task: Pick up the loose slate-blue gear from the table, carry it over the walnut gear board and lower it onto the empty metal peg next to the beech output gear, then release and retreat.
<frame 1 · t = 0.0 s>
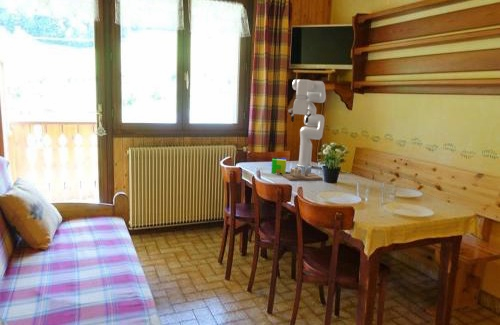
hand: (299, 122, 275), 37 cm above the table, tool pointing down, fingers open, 9 cm apart
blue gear: (306, 173, 287), on the table
gear board: (302, 177, 272), on the table
puzzle toy: (278, 172, 286), on the table
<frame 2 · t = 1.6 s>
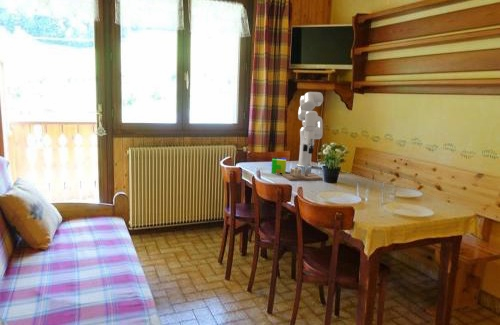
hand: (307, 152, 284), 16 cm above the table, tool pointing down, fingers open, 9 cm apart
nothing on the table moved.
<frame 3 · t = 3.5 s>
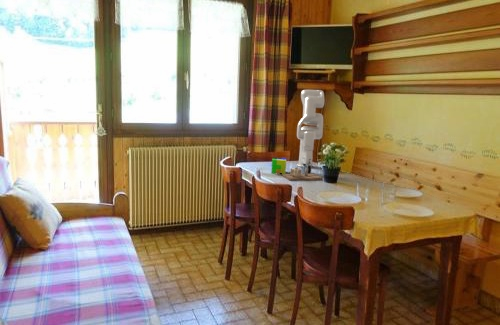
hand: (306, 172, 287), 1 cm above the table, tool pointing down, fingers closed on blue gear, 6 cm apart
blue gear: (306, 173, 287), on the table, touching gripper
everything else where it was.
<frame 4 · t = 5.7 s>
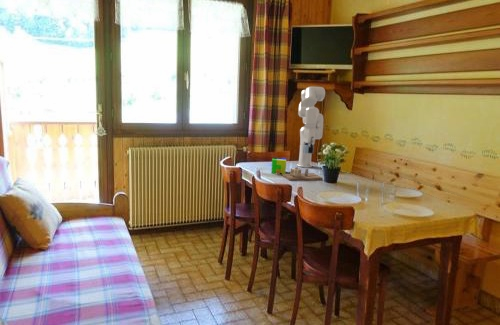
hand: (308, 151, 269), 18 cm above the table, tool pointing down, fingers closed on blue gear, 6 cm apart
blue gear: (308, 152, 269), point 18 cm above the table, touching gripper
everything else where it was.
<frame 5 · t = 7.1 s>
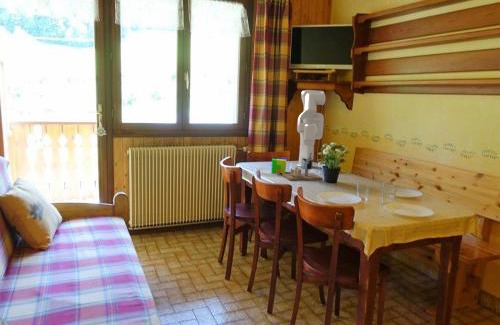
hand: (306, 167, 271), 7 cm above the table, tool pointing down, fingers closed on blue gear, 6 cm apart
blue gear: (306, 168, 271), point 7 cm above the table, touching gripper
everything else where it was.
when the fingers open (4 cm above the table, at t = 8.3 s): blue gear drops 1 cm, resting on gear board.
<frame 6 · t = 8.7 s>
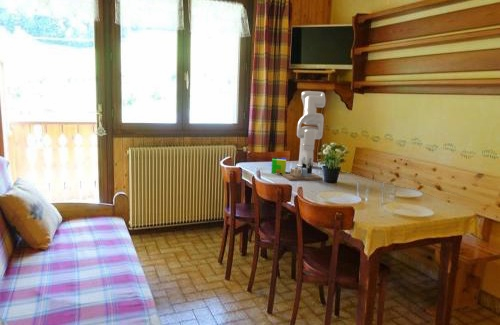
hand: (306, 171, 272), 4 cm above the table, tool pointing down, fingers open, 9 cm apart
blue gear: (306, 175, 272), point 1 cm above the table, touching gear board
everything else where it was.
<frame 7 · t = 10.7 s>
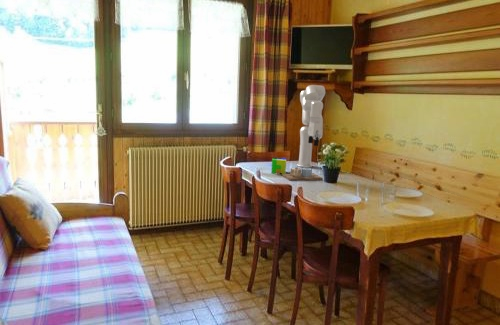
hand: (313, 144, 273), 23 cm above the table, tool pointing down, fingers open, 9 cm apart
nothing on the table moved.
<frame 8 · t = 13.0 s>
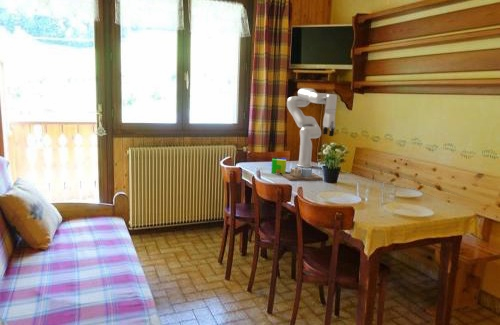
hand: (328, 135, 286), 28 cm above the table, tool pointing down, fingers open, 9 cm apart
nothing on the table moved.
at the end: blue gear 0.1 cm from the target spot on the gear board, point 1.5 cm above the gear board's base; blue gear tilted 0°; the gripper is holding nothing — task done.
